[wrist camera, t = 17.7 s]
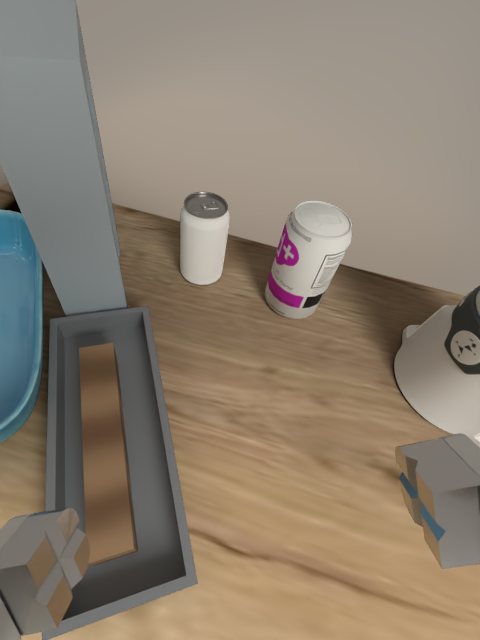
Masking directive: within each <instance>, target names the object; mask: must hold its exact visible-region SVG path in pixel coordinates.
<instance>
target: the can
mask: <svg viewBox="0 0 480 640" xmlns="http://www.w3.org/2000/svg"><path fill="white" fill-rule="evenodd" d="M229 218H230V217H229V212H228V204H227V202H226V201H225V200H224V199H223V198H222V197H220V196H219V195H216V194H214V193H210V192H196V193H193V194H190V195H189V196H187V197H186V199H185V201H184V206H183V208H182V210H181V220H180V271H181V274H182V275H183V277H184V278H185V279H186V280H188V281H189V282H191V283H193V284H197V285H208V284H211V283H214V282H215V281H217V280H218V279H219V278H220V277H221V274H222V270H223V263H224V257H225V250H226V243H227V235H228V228H229Z"/></svg>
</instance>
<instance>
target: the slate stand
mask: <svg viewBox="0 0 480 640" xmlns="http://www.w3.org/2000/svg"><path fill="white" fill-rule="evenodd" d="M0 164H1V166H2V168H3V171H4V173H5V175H6V178H7V180H8V182H9V185H10V187H11V189H12V192H13V194H14V196H15V199H16V201H17V203H18V206H19V208H20V210H21V213H22V215H23V217H24V220H25V222H26V224H27V227H28V229H29V231H30V234H31V236H32V238H33V240H34V243H35V245H36V247H37V250H38V252H39V254H40V257H41V259H42V261H43V264H44V266H45V268H46V271H47V273H48V275H49V278H50V280H51V282H52V285H53V287H54V289H55V292H56V294H57V296H58V299H59V301H60V303H61V306H62V308H63V310H64V313H65V315H66V317H68V316H75V315H83V314H91V313H98V312H106V311H113V310H121V309H128V306H127V300H126V295H125V290H124V284H123V279H122V274H121V268H120V263H119V258H118V256H121V255H120V247H119V241H118V235H117V229H116V224H115V218H114V213H113V207H112V202H111V196H110V190H109V185H108V179H107V173H106V168H105V162H104V156H103V151H102V145H101V139H100V134H99V128H98V123H97V118H96V112H95V106H94V100H93V95H92V89H91V84H90V78H89V72H88V67H87V61H86V55H85V50H84V44H83V38H82V33H81V27H80V22H79V16H78V10H77V5H76V0H0Z"/></svg>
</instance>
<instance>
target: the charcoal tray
mask: <svg viewBox="0 0 480 640" xmlns="http://www.w3.org/2000/svg"><path fill="white" fill-rule="evenodd" d="M108 343H113V345H114V348H115V352H116V356H117V360H118V370H119V379H120V388H121V397H122V407H123V416H124V425H125V435H126V444H127V453H128V462H129V472H130V481H131V490H132V500H133V509H134V518H135V528H136V537H137V546H138V551H137V552H134V553H131V554H128V555H125V556H122V557H119V558H116V559H113V560H110V561H107V562H104V563H101V564H98V565H91V564H88V567H87V569H86V571H85V574H84V576H83V578H82V579H81V580H80V581H79V582H78V583H77V584H76V585H75V586H74V587H73V588H72V595H73V598H72V600H71V602H70V604H69V606H68V609H67V611H66V613H65V615H64V617H63V619H62V621H61V623H60V625H59V627H58V629H54V630H49V631H44V632H42V640H48V639H51V638H53V637H56V636H59V635H61V634H64V633H67V632H69V631H72V630H75V629H77V628H80V627H83V626H85V625H88V624H91V623H93V622H96V621H99V620H101V619H104V618H107V617H109V616H112V615H115V614H117V613H120V612H123V611H125V610H128V609H131V608H133V607H136V606H139V605H142V604H144V603H147V602H150V601H152V600H155V599H158V598H160V597H163V596H166V595H168V594H171V593H174V592H176V591H179V590H182V589H184V588H187V587H190V586H192V585H195V584H198V582H197V577H196V571H195V565H194V560H193V554H192V549H191V543H190V538H189V532H188V526H187V521H186V515H185V510H184V504H183V499H182V493H181V488H180V482H179V476H178V471H177V465H176V460H175V454H174V449H173V443H172V437H171V432H170V426H169V421H168V415H167V410H166V404H165V399H164V393H163V387H162V382H161V376H160V371H159V365H158V360H157V354H156V349H155V343H154V337H153V332H152V326H151V321H150V315H149V310H148V306H144V307H136V308H128V309H121V310H113V311H106V312H98V313H91V314H83V315H75V316H68V317H60V318H53V319H50V339H49V379H48V418H47V458H46V497H45V511H51V510H58V509H64V508H72V509H75V511H76V513H77V515H78V517H79V519H80V521H79V524H78V527H77V528H78V529H79V530H81V531H82V532H83V533H85V534H86V525H85V497H84V469H83V441H82V414H81V386H80V358H79V348H83V347H89V346H95V345H101V344H108Z"/></svg>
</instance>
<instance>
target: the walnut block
mask: <svg viewBox="0 0 480 640" xmlns="http://www.w3.org/2000/svg"><path fill="white" fill-rule="evenodd" d="M79 358H80V386H81V414H82V441H83V469H84V497H85V525H86V536H87V538H88V541H89V546H90V557H89V563H88V564H91V565H98V564H101V563H104V562H107V561H110V560H113V559H116V558H119V557H122V556H125V555H128V554H131V553H134V552H137V551H138V546H137V537H136V528H135V518H134V509H133V500H132V490H131V481H130V472H129V462H128V453H127V444H126V435H125V425H124V416H123V407H122V397H121V388H120V379H119V370H118V360H117V356H116V352H115V348H114V345H113V343H108V344H101V345H95V346H89V347H83V348H79Z"/></svg>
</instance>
